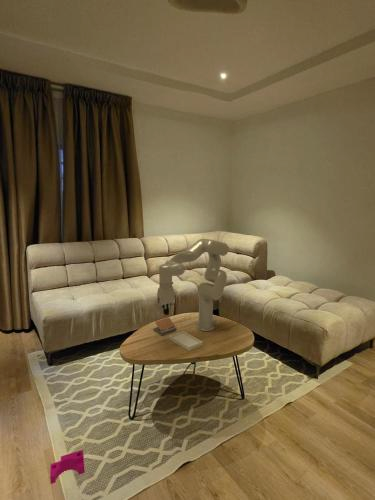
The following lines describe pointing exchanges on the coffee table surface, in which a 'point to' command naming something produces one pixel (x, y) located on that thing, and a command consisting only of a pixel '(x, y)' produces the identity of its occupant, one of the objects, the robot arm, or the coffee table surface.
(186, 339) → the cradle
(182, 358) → the coffee table surface
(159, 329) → the hinge plinth
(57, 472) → the toy block
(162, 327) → the latch flap
